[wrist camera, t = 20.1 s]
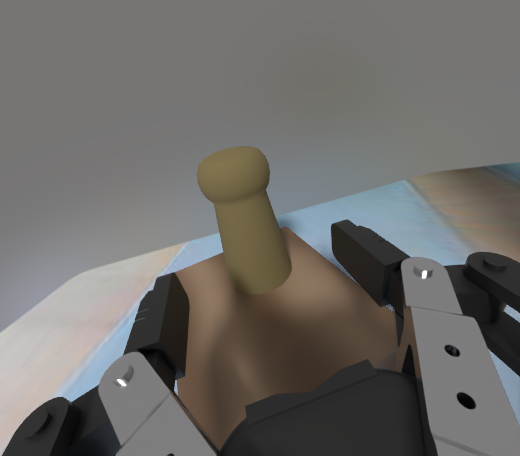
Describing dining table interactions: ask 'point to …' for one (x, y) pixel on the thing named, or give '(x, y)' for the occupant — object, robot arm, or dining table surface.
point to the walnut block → (274, 335)
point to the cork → (245, 219)
